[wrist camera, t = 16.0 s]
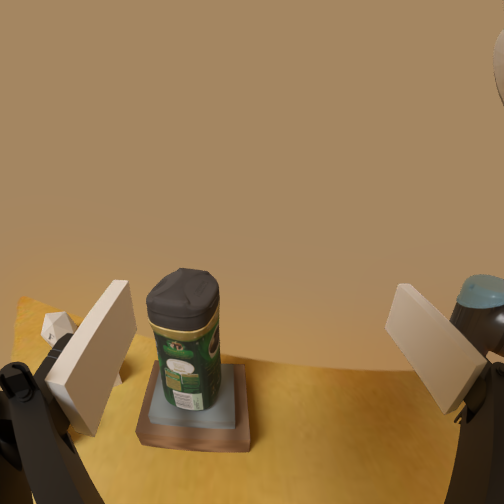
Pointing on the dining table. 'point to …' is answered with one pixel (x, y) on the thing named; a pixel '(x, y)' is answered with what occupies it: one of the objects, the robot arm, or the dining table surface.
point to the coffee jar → (187, 337)
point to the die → (57, 327)
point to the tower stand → (197, 417)
